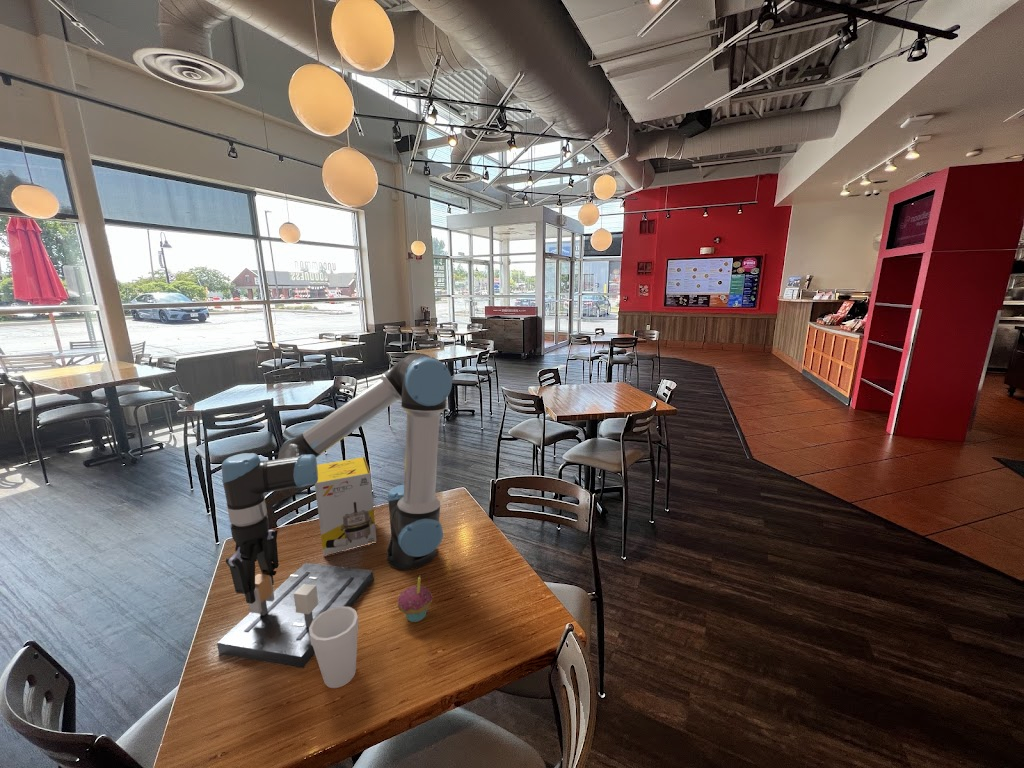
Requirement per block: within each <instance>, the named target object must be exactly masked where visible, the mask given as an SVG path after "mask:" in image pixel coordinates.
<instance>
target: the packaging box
mask: <svg viewBox="0 0 1024 768" xmlns="http://www.w3.org/2000/svg"><path fill="white" fill-rule="evenodd" d="M317 468H318V481H317V482H316V483H315V484H314V490H315V495H316V496H315V497H316V506H317V512H318V524H319V530H320V538H321V539H320V540H321V546H322V555H326V554H330V553H334V552H338V551H342V550H346V549H349V548H353V547H357V546H361V545H365V544H368V543H372V542H376V541H377V531H376V530H377V529H376V519H375V510H374V502H373V501H374V500H373V499H374V498H373V488H372V480H371V479H372V478H371V477H372V476H371V471H370V469H369V465H368V463H367V460H366V457H365V456H362V457H356V458H350V459H345V460H338V461H332V462H331V461H330V462H325V463H320V464H317Z"/></svg>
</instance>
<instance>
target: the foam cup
mask: <svg viewBox="0 0 1024 768" xmlns="http://www.w3.org/2000/svg"><path fill="white" fill-rule="evenodd" d="M359 626H360V625H359V617H358V613H357V611H356V609H354V608H353V607H352V608H351V607H345V606H339V607H335V608H331V609H329V610H327V611H325V612H323V613H321V614H319V615H318V616H317V617H316V618H315V619H314V620H313V621H312V623H311V625H310V627H309V633H310V640H311V645H312V646H313V649H314V652H315V654H314V656H315V658H316V661H317V663H318V667H319V670H320V673H321V677H322V679H323V682H324V685H326V686H327V687H328V688H329V689H330V688H331V689H337V688H341V687H343V686H346V685H347V684H348V683H350V682H351V681H352V680H353V678H354V677H355V674H356V670H357V655H358V654H357V653H358V629H359Z"/></svg>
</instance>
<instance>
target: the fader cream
mask: <svg viewBox="0 0 1024 768" xmlns="http://www.w3.org/2000/svg"><path fill="white" fill-rule="evenodd" d="M294 601H295V608H296V612H297V613H304V617H305V624H306V627H310V625H311V623H312V621H313V615H312V610H313V609H314V608H315V607H316V606H317V605H318V596H317V588H316V585H309V584H303V585H302V586H301V587H300V588H299V589H298V590H297V591H296V592H295V593H294Z"/></svg>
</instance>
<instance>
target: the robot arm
mask: <svg viewBox="0 0 1024 768" xmlns="http://www.w3.org/2000/svg"><path fill="white" fill-rule="evenodd" d="M452 386H453V379H452V375H451V372H450V370H449V369H448V367H446V365H445V364H444V362H442V361H440V360H439V359H438V358H436V357H431V356H430V355H428V354H425V353H420V352H417V353H412V354H409V355H407V356H404V357H403V358H402V359H401V360H399V361H397V363H395V364H394V365H393V366H392V367H390V368H389V369H387V370H385V371H384V372H383V373H382V374H381V377H380V379H379V380H378V381H376V382H375V383H374V384H372V385H371V386H368V387H367V388H366V389H364V390H363V391H362V392H360V393H359V394H357V395H356V396H354V397H353V398H352V399H350V400H349V401H347V402H346V403H343V405H342V406H340V407H339V408H337V409H336V410H334V411H332V412H331V413H330V414H328V415H326V416H325V417H324V418H322V419H321V420H319V421H318V422H316V423H315V424H314V425H312V426H311V427H310V428H307V430H305V431H304V432H302V433H301V434H299V435H297V436H296V437H292V438H289V439H286V440H285V441H284V442H283V443H282V445H281V447H280V448H279V451H278V457H277V458H276V459H275V458H274V459H271V460H261V459H260V457H259V455H258V454H257V453H254V452H251V453H250V452H249V453H246V452H245V453H239V454H235V455H231V456H229V457H227V458H226V459H224V460H223V461H222V463H221V474H222V480H221V482H222V485H223V489H224V495H225V501H226V506H227V507H226V509H227V514H228V518H229V519H228V520H229V523H230V532H231V538H232V540H233V541H234V542H235V548H234V551H235V552H234V553H233V555H232V556H231V557H227V558H226V559H225V564H226V565H227V566H228V567H229V570H230V575H231V577H232V578H231V579H232V583H233V586H234V591H235V593H236V594H242V595H244V596H245V597H244V598H245V602H246V603H247V604H248V608H249V613H250V612H252V613H259V614H260V613H261V612H262V608H261V602H260V596H259V589H258V588H257V587H255V576H256V562H257V563H258V566H259V569H260V572H261V574H264V575H270V581H271V587H272V594H271V595H270V596H269V597H267V598H266V601H274V600H275V599H274V576H275V575H276V574H277V570H275V569H278V568H279V564H280V563H279V554H278V542H277V539H278V538H277V537H278V532H279V531H278V530H276V529H275V530H274V529H270V525H269V524H270V523H269V517H268V516H269V515H268V510H267V504H266V497H265V494H268V493H275V492H278V491H285V490H292V489H297V488H299V489H300V488H301V489H302V488H304V487H308V486H312V485H315V483H316V482H317V481H318V468H317V465H318V461H317V457H319V456H321V455H322V454H323V453H324V452H326V451H328V450H329V449H330V448H332V447H333V446H335V445H336V444H337V443H338V442H341V441H342V440H343V439H344V438H346V437H348V435H350V434H352V433H353V432H354V431H356V430H357V429H359V428H360V427H361V426H363V425H365V424H366V423H368V421H370V420H371V419H373V418H374V417H375V416H377V415H378V414H380V413H381V412H383V411H384V410H386V409H387V408H388V407H390V406H391V405H393V404H394V403H395V402H397V401H400V402H401V408H402V410H404V411H405V412H406V429H405V430H406V431H405V432H406V433H405V448H404V449H405V453H404V471H403V472H404V474H403V475H404V476H403V477H404V478H403V484H401V485H397V486H394V487H392V488H391V489H390V490H389V491H388V494H387V502H388V511H389V512H388V515H389V525H390V526H389V527H390V540H389V542H388V547H387V550H386V557H387V558H386V560H387V563H388V565H389V566H390V567H392V568H394V569H397V570H403V571H405V570H407V571H408V570H416V569H418V568H421V567H424V566H426V565H427V564H429V563H431V562H432V561H433V560H434V559H435V557H436V555H437V548H438V547H439V546H440V545H441V543H442V541H443V537H444V530H443V526H442V524H441V523H440V514H441V501H440V499H439V498H437V496H436V490H437V489H436V487H437V469H438V453H439V452H438V451H439V433H440V430H439V429H440V418H441V417H440V415H441V414H442V412H444V410H446V407H447V398H448V397H449V395H450V393H451V391H452Z"/></svg>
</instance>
